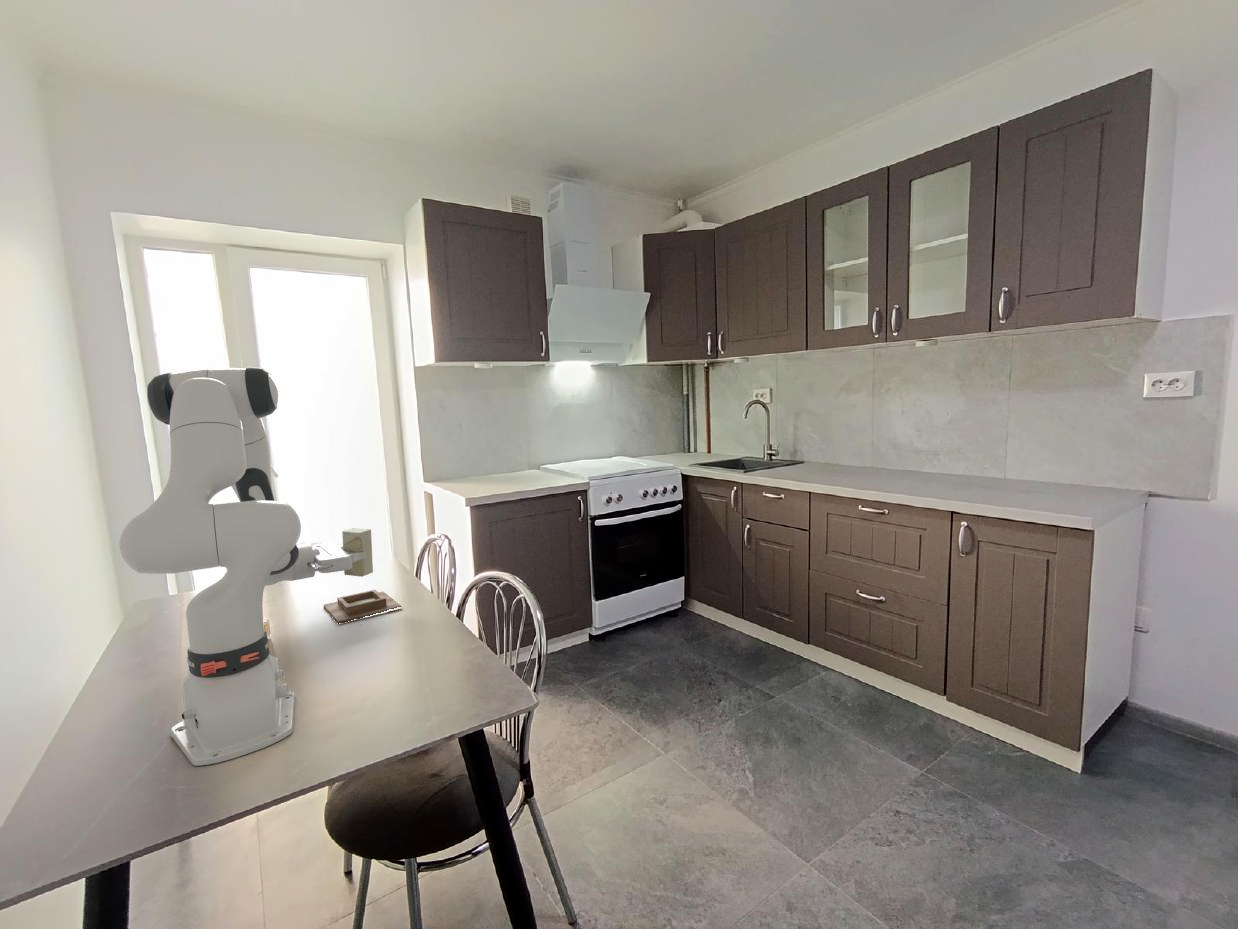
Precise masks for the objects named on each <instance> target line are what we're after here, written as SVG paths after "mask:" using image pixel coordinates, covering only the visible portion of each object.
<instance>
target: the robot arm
mask: <svg viewBox="0 0 1238 929" xmlns="http://www.w3.org/2000/svg"><path fill="white" fill-rule="evenodd" d="M146 390H147V394H146V400H147V404H148V406H149V409H150V411H151V412H152V414H153V416H154V417H155V419H157V420H158V421H159V422H162V423H163V424H165V425H169V440H170V442H169V443H170V465H169V466H170V471H169V476H168V480H167V483H166V484H165V487H164V488H163V490H162V492H161V493H160V495H159V496H158V497H157V498H156V500H155V501H154V502H153V503H152V504H151V505H150V506H148V507H147V508H146V509H145V510H144V511H142V512H141V513H139V514H138V515H136V516H135V517H133V518H132V519H130V521H129V522H128V523H127V524H126V526H124V529H123V530H122V532H121V536H120V539H119V551H120V555H121V557H122V559H123V561H124V562H125V563H126V565H127V566H129V568H131V569H132V570H133V571H134V572H136V573H139V574H147V575H148V574H150V575H152V574H153V575H155V574H156V575H157V574H158V575H159V574H161V575H162V574H163V575H164V574H168V575H169V574H179V573H185V572H186V573H187V572H193V571H198V570H200V571H201V570H205V569H213V568H218V567H220V568H225V569H226V572H225V573H224V575H223V577H221V578H220V579H219V580H218V581H216V582H215V583H213V584H211V585H209V586H208V587H205V588H204V589H202V590H201V591H200V592H198V593H197V594H195V595H194V596H193V598H191V599H190V601H189V602H188V604H187V607H186V610H185V615H186V616H185V618H186V626H187V633H188V634H187V635H188V641H189V642H188V643H189V647H188V649H187V650H186V652H187V657H186V660H187V661H186V662H187V665H188V671H189V674H188V675H187V677H186V678H185V679H184V680H182V682H181V683H180V695H181V707H182V713H181V718H182V719H183V720H182V721H180V722H178V723H177V724H175V725H173V726H172V727H171V728H170V736H171V738H172V739H173V740H174V742H175V743H176V744H177V746H178V747H179V748H180V750H181V751H182V752H183V753H184V755H185V756H186V757H187V759H188V760H189V762H190V764H192V765H193V766H195V767H197V766H205V765H206V766H208V765H212V764H217V763H221V762H224V761H229V760H232V759H236V758H239V757H242V756H244V755H247V754H250V753H253V752H256V751H259V750H261V749H263V748H266V747H268V746H271V745H273V744H275V743H278V742H280V741H281V740H283V739H285V738H286V737H288V736H290V735H291V734H292V733H293V731H294V719H295V717H294V716H295V704H296V703H295V702H296V696H295V692H294V691H292V690H289V689H288V687H289V686H288V683H287V682H285V683H281V678H284V670H283V669H280V668H279V658H277V657H275V656H273V655H271V653H270V648H269V647H270V646H269V645H270V642H269V641H270V640H269V638H268V634H267V631H265V626H264V613H263V610H264V609H263V608H264V607H263V600H264V599H263V598H264V591H265V587H267V586H272V585H276V584H278V583H280V582H286V581H287V582H292V581H293V582H294V581H299V580H304V579H311V578H314V577H315V575H316V572H319V573H320V574H331V573H337V572H344V570H349V569H351V568H352V563H353V562H356V561H358V560H360V559H365V558H366V552H364V551H361V552H358V553H354V554H348V553H347V552H345V551H344V550H343V545H337V544H336V543H335V542H333V541H322V542H313V543H311V542H310V543H306V542H298V541H299V540H300V537H301V531H302V528H301V527H302V524H301V520H300V517H299V515H298V513H297V512H296V510H295V509H294V508H293V507H292V506H291V505H290V504H289V503H287V502H285V501H277V500H275V498H274V493H273V492H274V491H273V484H272V471H271V468H272V467H271V455H270V446H269V440H268V436H267V432H266V429H265V425H264V422H263V419H262V418H264V417H265V418H266V417H268V416H270V415H271V414H273V413H274V412H275V411H276V410H277V409H278V404H279V400H280V390H279V387H278V384H277V382H276V381H275V379H274V378H273V377H272V374H271V372H269V371H268V370H266V369H264V368H262V367H257V366H256V367H255V366H246V367H245V368H244V367H243V368H242V367H241V368H239V367H221V368H220V367H219V368H217V367H216V368H210V367H208V368H207V367H206V368H199V369H191V370H185V371H180V372H175V373H174V372H165V373H162V374H158V375H155V376H154V377H153V378H151V380H150V381H149V382H148V384H147V389H146ZM229 487H231V488H232V490H233V491H234V493H235V495H236V497H237V498H238V500H239V501H237V502H228V503H217V504H214V503H212V504H211V503H210V501H211V500H212V498H214V496H215V495H218V493H220V492H222V491H224V490H226V489H228V488H229Z"/></svg>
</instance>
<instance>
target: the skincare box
mask: <svg viewBox="0 0 1238 929" xmlns="http://www.w3.org/2000/svg"><path fill="white" fill-rule="evenodd" d="M341 532H342V546H343V550H344V551H345V552H347V553H348V554H354V553H358V552H361V551H364V552H366V558H365V559H360V560H358V561H356V562H353V563H352V568H351V569H349V570H344V571H343V574H344V575H345V576H352V577H364V576H367V575H371V574H372V573H374V568H373V566H374V565H373V546H372V544H373V543H372V542H373V541H372V529H369V528H354V527H353V528H350V529H346V530H343V531H341Z"/></svg>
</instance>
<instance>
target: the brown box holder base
mask: <svg viewBox="0 0 1238 929" xmlns="http://www.w3.org/2000/svg"><path fill="white" fill-rule="evenodd" d="M397 607H402V605H401V604H400V603H399V602H397V601H396V600H395V599H393V598H392V597H391V596H389V594H387V593H386V592H385V591H377V590H376V589H372V590H367V591H363V592H359V593H353V594H349V595H345V596H339V597H337V600H336V601H334V602H329V603H326V604H325V603H324V604H323V609H324V610H325V609H326V610H325V612H326V613H327V614H328V613H329V614H330V615H329V614H328V615H329V616H330V617H331V616H332V617H333V618H332V617H331V618H332V620H333V621H334V620H335V621H336V622H337V623H338V624H339V623H344V624H346V623H345V622H348V621H351V620H354V619H360V618H363V617H365V616H370V615H373V614H376V613H381V612H384V611H387V610H389V609H394V608H397ZM360 620H361V619H360ZM335 621H334V622H335ZM336 622H335V623H336ZM337 623H336V624H337ZM348 623H349V622H348ZM338 624H337V625H338Z"/></svg>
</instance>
